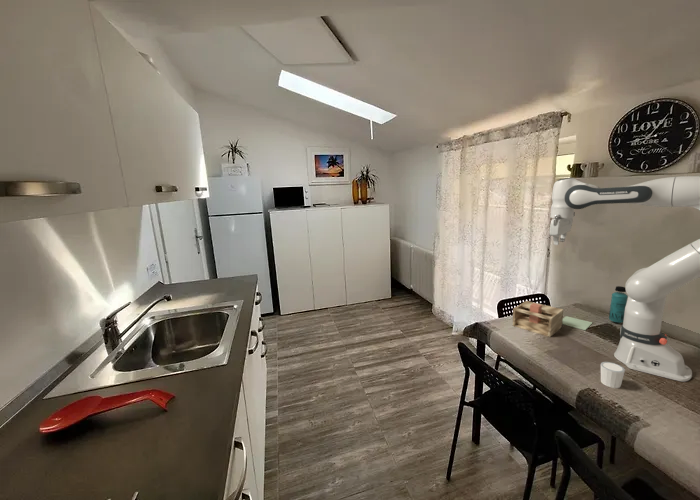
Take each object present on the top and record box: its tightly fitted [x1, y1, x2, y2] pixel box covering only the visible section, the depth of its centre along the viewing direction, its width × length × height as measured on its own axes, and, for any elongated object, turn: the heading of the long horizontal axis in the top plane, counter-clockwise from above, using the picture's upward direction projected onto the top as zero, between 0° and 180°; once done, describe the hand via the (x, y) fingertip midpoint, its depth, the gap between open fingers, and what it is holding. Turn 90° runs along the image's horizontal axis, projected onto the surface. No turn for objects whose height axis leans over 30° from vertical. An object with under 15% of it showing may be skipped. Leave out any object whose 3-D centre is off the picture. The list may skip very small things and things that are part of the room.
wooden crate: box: [512, 300, 564, 338], centre depth 159 cm, size 18×16×10 cm
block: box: [529, 302, 543, 324], centre depth 156 cm, size 4×4×9 cm
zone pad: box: [562, 315, 593, 331], centre depth 161 cm, size 12×12×1 cm
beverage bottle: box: [608, 285, 628, 323], centre depth 157 cm, size 6×7×20 cm
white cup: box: [600, 361, 626, 389], centre depth 112 cm, size 7×7×7 cm
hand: (559, 243), depth 141 cm, fingers open, 8 cm apart
